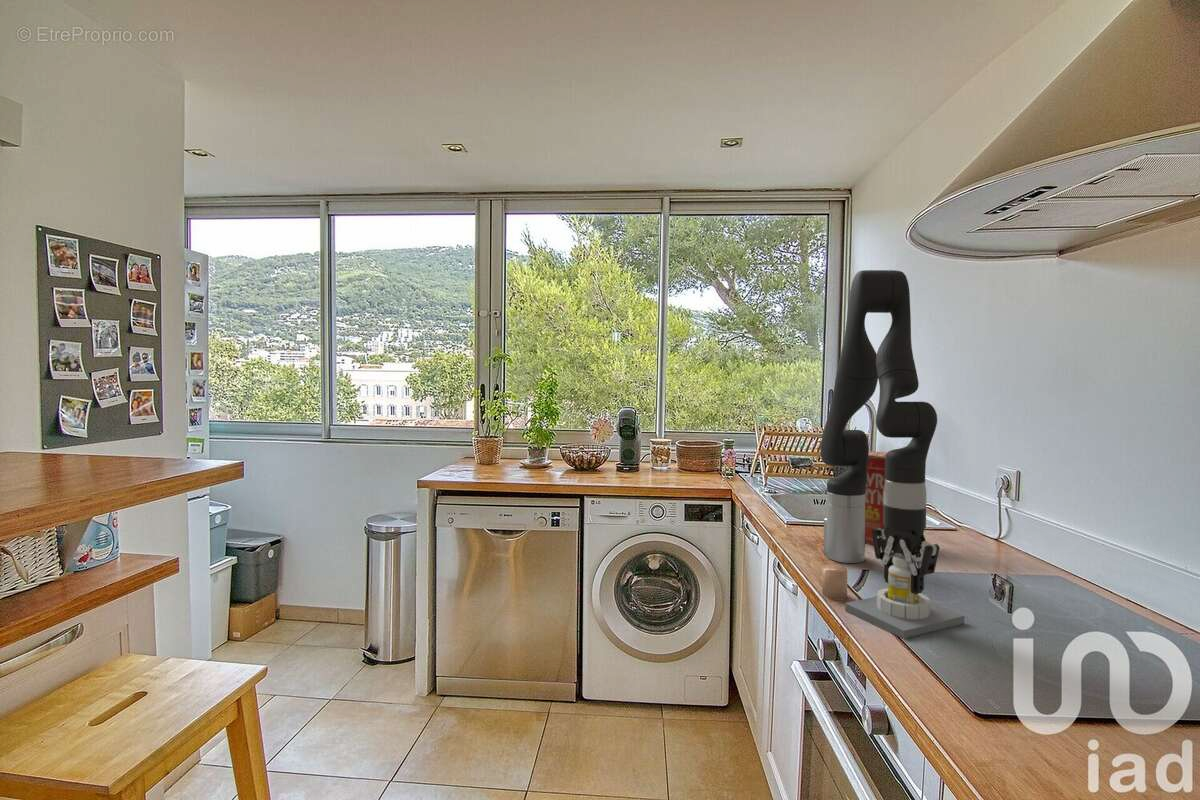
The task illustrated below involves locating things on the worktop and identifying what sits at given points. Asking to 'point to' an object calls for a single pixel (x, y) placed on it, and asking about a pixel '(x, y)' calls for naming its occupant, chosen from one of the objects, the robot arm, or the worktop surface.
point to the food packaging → (874, 494)
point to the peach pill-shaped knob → (834, 581)
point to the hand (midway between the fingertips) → (903, 587)
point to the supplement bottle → (900, 581)
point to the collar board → (901, 623)
